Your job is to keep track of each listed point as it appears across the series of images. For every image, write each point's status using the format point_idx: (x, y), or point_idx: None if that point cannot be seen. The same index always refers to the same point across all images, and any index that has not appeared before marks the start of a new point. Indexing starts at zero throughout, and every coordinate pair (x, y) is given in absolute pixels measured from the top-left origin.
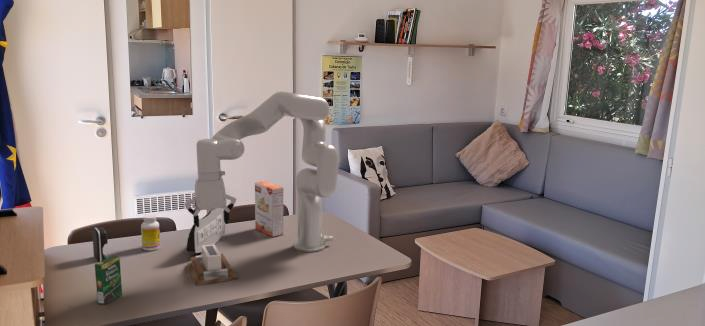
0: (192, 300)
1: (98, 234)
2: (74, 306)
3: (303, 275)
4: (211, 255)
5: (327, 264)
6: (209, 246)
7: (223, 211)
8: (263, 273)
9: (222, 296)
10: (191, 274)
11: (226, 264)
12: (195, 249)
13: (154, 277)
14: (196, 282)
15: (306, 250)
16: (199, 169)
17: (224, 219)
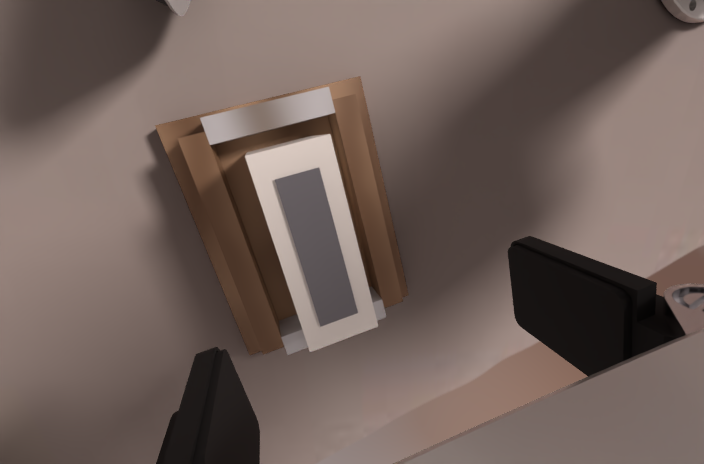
0: (263, 460)
1: None
2: None
3: (601, 256)
4: (328, 325)
5: (687, 165)
6: (302, 184)
7: (615, 298)
8: (493, 237)
9: (357, 421)
10: (216, 271)
11: (378, 253)
12: (178, 11)
13: (18, 274)
14: (255, 352)
15: (681, 16)
16: None
17: (533, 295)
